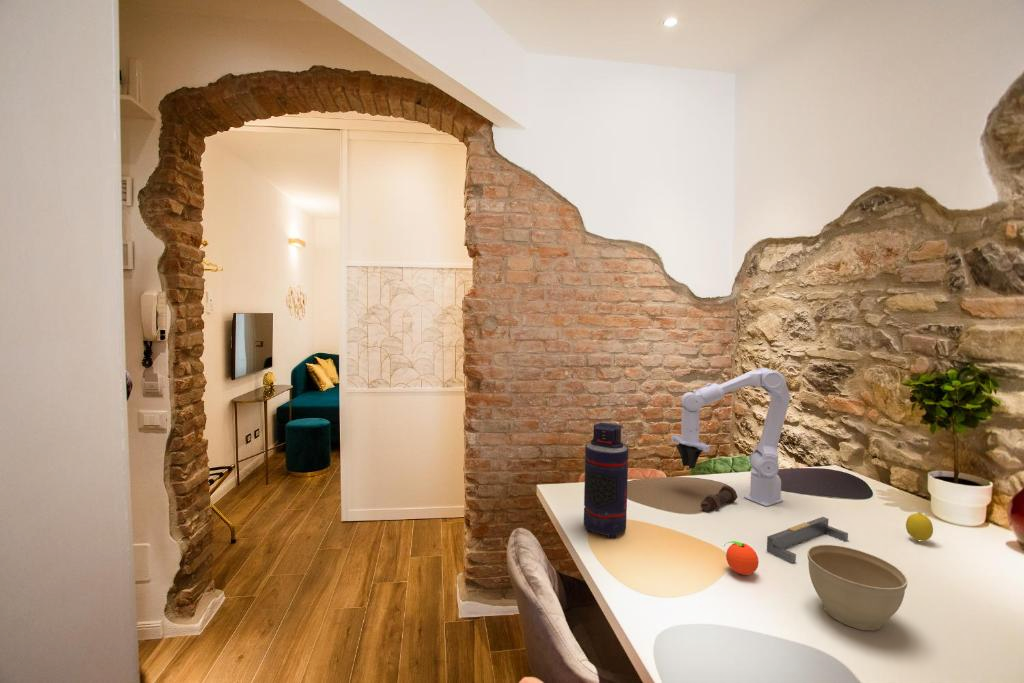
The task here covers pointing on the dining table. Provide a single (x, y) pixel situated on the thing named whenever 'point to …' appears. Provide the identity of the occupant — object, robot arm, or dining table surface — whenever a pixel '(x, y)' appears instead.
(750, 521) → the dining table surface
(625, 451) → the grenade
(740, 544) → the orange-red round fruit
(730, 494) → the bolt
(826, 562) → the planter bowl
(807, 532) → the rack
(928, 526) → the lemon
